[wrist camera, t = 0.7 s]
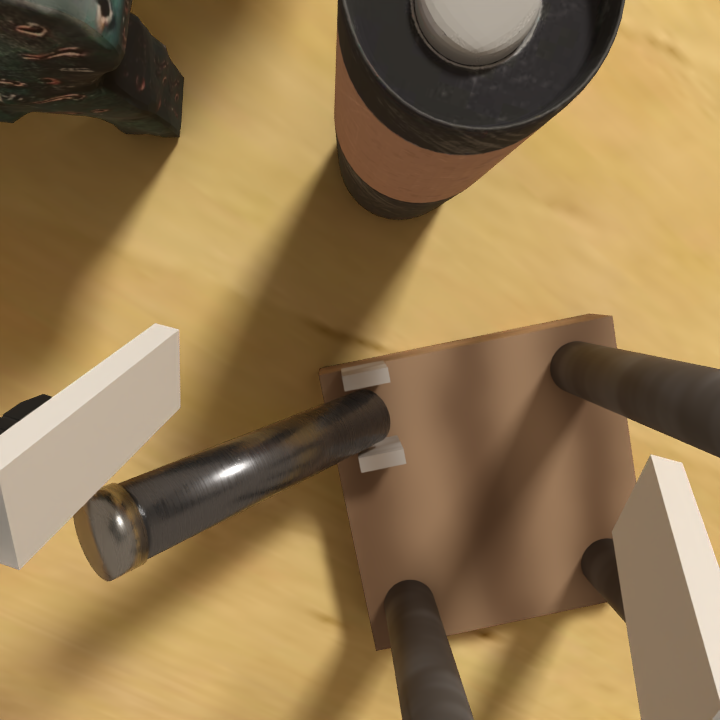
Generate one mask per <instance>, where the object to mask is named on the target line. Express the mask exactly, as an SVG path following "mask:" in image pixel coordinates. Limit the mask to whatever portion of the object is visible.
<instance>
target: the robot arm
mask: <svg viewBox="0 0 720 720" xmlns="http://www.w3.org/2000/svg"><path fill="white" fill-rule="evenodd" d="M179 409H180V352H179V329H175V328H171V327H167V326H164V325H160V324H156V323H155V324H153V325H152V326H151V327H149V328H148V329H146V330H145V331H144V332H142V333H141V334H140V335H138V336H137V337H135V338H134V339H133V340H131V341H130V342H128V343H127V344H126V345H124V346H123V347H122V348H120V349H119V350H117V351H116V352H115V353H113V354H112V355H110V356H109V357H108V358H106V359H105V360H103V361H102V362H101V363H99V364H98V365H97V366H95V367H94V368H92V369H91V370H90V371H88V372H87V373H85V374H84V375H83V376H81V377H80V378H78V379H77V380H76V381H74V382H73V383H72V384H70V385H69V386H67V387H66V388H65V389H63V390H62V391H60V392H59V393H58V394H56V395H55V396H54V397H51V396H48V395H45V394H42V395H39V396H37V397H34V398H31V399H29V400H26V401H23V402H21V403H19V404H18V405H16V406H15V407H13V408H12V409H11V410H9V411H8V412H6V413H5V414H3V417H2V418H1V417H0V563H1V564H4V565H6V566H9V567H12V568H15V569H18V570H20V569H21V568H22V567H23V566H24V565H25V564H26V563H27V562H28V561H29V560H30V559H31V558H32V557H33V556H34V555H35V554H36V553H37V552H38V551H39V550H40V549H41V548H42V547H43V546H44V545H45V544H46V543H47V542H48V541H49V540H50V539H51V538H52V537H53V536H54V535H55V534H56V533H57V532H58V531H59V530H60V529H61V528H62V527H63V526H64V525H65V524H66V523H67V521H68V520H69V519H70V518H71V517H72V516H73V515H74V514H75V513H76V512H77V511H78V510H79V509H80V508H81V507H82V506H83V505H84V504H85V503H86V502H87V501H88V500H89V499H90V498H91V497H92V496H93V495H94V494H95V493H96V492H97V491H98V490H99V489H100V488H101V487H102V486H103V485H104V484H105V483H106V482H107V481H108V480H109V479H110V478H111V477H112V476H113V475H114V474H115V473H116V472H117V471H118V470H119V469H120V468H121V467H122V466H123V465H124V464H125V463H126V462H127V461H128V460H129V459H130V458H131V457H132V456H133V455H134V454H135V453H136V452H137V451H138V450H139V449H140V448H141V447H142V446H143V445H144V444H145V443H146V442H147V441H148V440H149V439H150V438H151V437H152V436H153V435H154V434H155V433H156V432H157V431H158V430H159V429H160V428H161V427H162V426H163V425H164V424H165V423H166V422H167V421H168V420H169V419H170V418H171V417H172V416H173V415H174V414H175V413H176V412H177V411H178V410H179ZM612 536H613V542H614V549H615V555H616V562H617V568H618V575H619V581H620V587H621V594H622V600H623V607H624V613H625V619H626V626H627V632H628V639H629V645H630V651H631V658H632V664H633V671H634V677H635V683H636V690H637V696H638V703H639V709H640V716H641V720H720V569H719V566H718V563H717V560H716V557H715V554H714V552H713V549H712V546H711V543H710V540H709V537H708V534H707V532H706V529H705V526H704V523H703V520H702V517H701V515H700V512H699V509H698V506H697V503H696V500H695V498H694V495H693V492H692V489H691V486H690V483H689V480H688V478H687V475H686V472H685V469H684V466H683V463H681V462H677V461H673V460H670V459H666V458H662V457H658V456H655V455H650V457H649V459H648V461H647V463H646V465H645V467H644V469H643V471H642V473H641V475H640V477H639V479H638V481H637V483H636V485H635V487H634V489H633V491H632V493H631V495H630V497H629V499H628V501H627V503H626V505H625V507H624V509H623V511H622V513H621V515H620V517H619V519H618V521H617V523H616V524H615V526H614V528H613V530H612Z"/></svg>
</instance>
